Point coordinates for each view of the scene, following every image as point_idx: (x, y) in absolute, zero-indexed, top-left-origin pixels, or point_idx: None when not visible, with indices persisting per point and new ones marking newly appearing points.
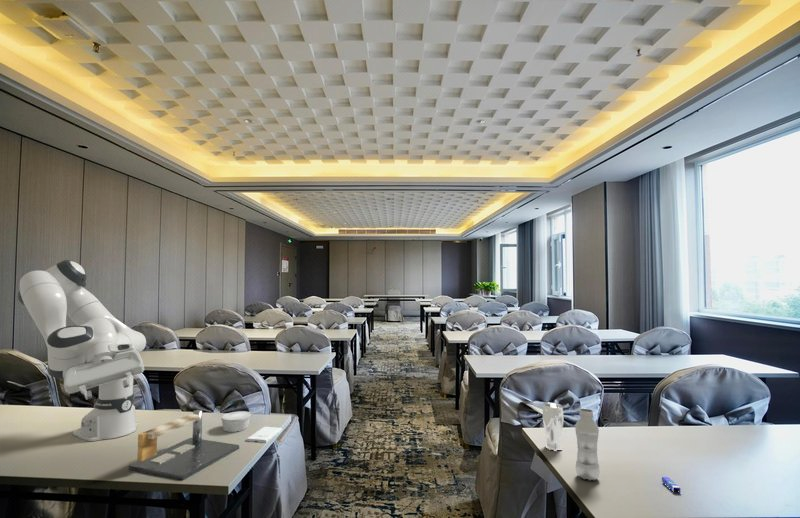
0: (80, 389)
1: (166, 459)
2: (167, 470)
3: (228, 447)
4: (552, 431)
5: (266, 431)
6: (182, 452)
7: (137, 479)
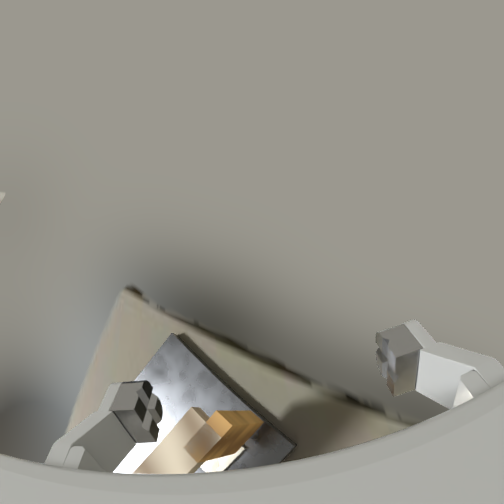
0: (481, 355)
1: None
2: (201, 376)
3: None
4: None
5: None
6: None
7: (264, 376)
